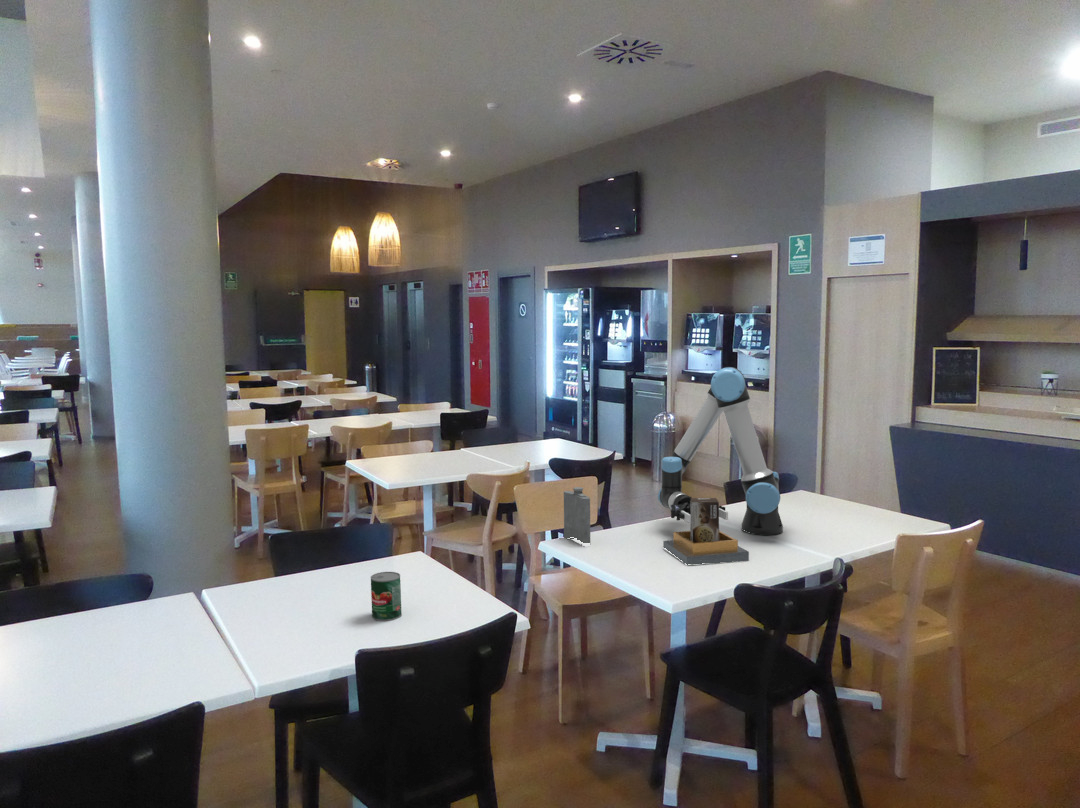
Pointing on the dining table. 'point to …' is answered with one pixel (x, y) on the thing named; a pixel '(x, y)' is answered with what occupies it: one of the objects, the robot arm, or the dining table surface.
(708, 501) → the coffee box
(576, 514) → the hip flask
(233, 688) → the dining table surface
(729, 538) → the square framed tray
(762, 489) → the robot arm
